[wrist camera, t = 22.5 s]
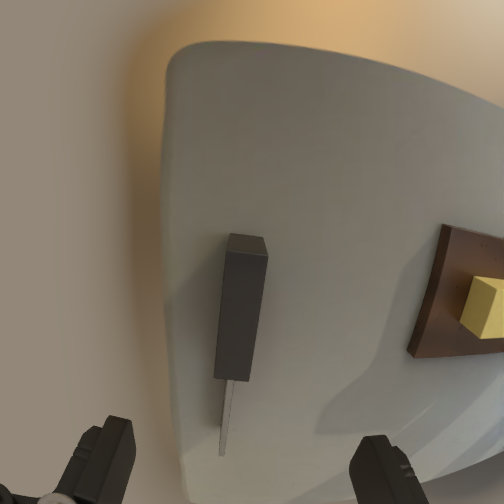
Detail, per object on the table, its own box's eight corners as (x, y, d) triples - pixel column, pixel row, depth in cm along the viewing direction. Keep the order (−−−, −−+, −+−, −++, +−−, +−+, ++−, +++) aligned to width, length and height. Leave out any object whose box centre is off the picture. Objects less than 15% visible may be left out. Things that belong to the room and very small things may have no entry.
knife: (229, 233, 23) (226, 250, 18) (263, 237, 23) (268, 254, 18) (210, 425, 27) (207, 462, 23) (235, 427, 28) (234, 465, 23)
